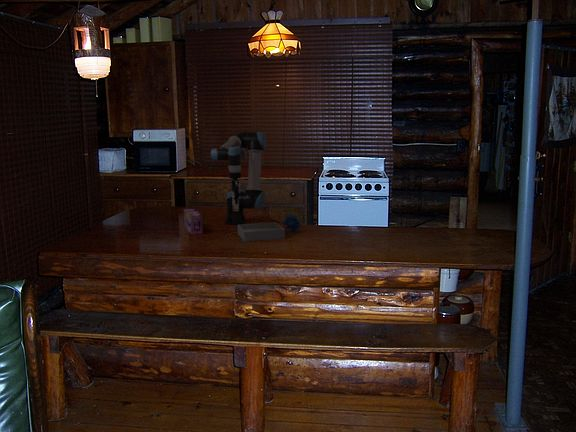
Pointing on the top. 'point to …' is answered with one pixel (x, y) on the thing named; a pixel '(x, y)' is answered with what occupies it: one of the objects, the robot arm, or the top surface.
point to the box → (261, 231)
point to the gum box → (193, 221)
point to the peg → (233, 202)
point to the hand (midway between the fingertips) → (235, 208)
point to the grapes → (291, 223)
